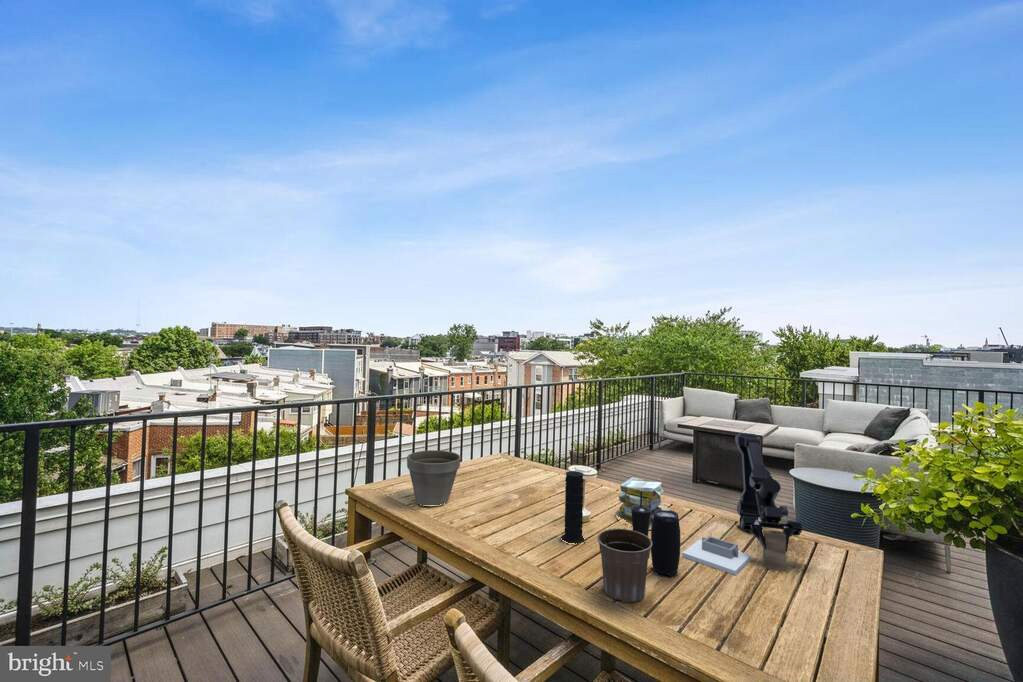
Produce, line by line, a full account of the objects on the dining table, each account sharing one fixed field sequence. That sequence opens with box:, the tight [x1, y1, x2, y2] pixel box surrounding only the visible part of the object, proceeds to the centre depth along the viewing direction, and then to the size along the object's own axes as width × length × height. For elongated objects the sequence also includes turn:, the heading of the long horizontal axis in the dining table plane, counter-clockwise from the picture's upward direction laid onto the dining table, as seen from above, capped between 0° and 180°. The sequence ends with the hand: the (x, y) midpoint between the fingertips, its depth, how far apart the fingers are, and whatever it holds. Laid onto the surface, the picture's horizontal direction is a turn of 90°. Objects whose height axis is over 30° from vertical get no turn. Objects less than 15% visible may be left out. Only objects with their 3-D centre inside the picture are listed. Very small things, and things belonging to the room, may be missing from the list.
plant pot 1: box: [406, 449, 462, 505], centre depth 213 cm, size 25×25×22 cm
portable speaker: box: [650, 509, 681, 578], centre depth 152 cm, size 9×9×20 cm
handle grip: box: [560, 470, 585, 544], centre depth 175 cm, size 10×26×10 cm
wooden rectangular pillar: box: [762, 529, 787, 572], centre depth 155 cm, size 4×6×12 cm, turn 76°
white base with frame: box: [681, 535, 752, 576], centre depth 162 cm, size 16×18×4 cm
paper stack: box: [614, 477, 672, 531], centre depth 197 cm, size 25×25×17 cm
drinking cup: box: [631, 491, 652, 537], centre depth 172 cm, size 8×8×20 cm
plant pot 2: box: [596, 528, 652, 603], centre depth 138 cm, size 16×16×16 cm
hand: (775, 550), depth 154 cm, fingers closed on wooden rectangular pillar, 6 cm apart
